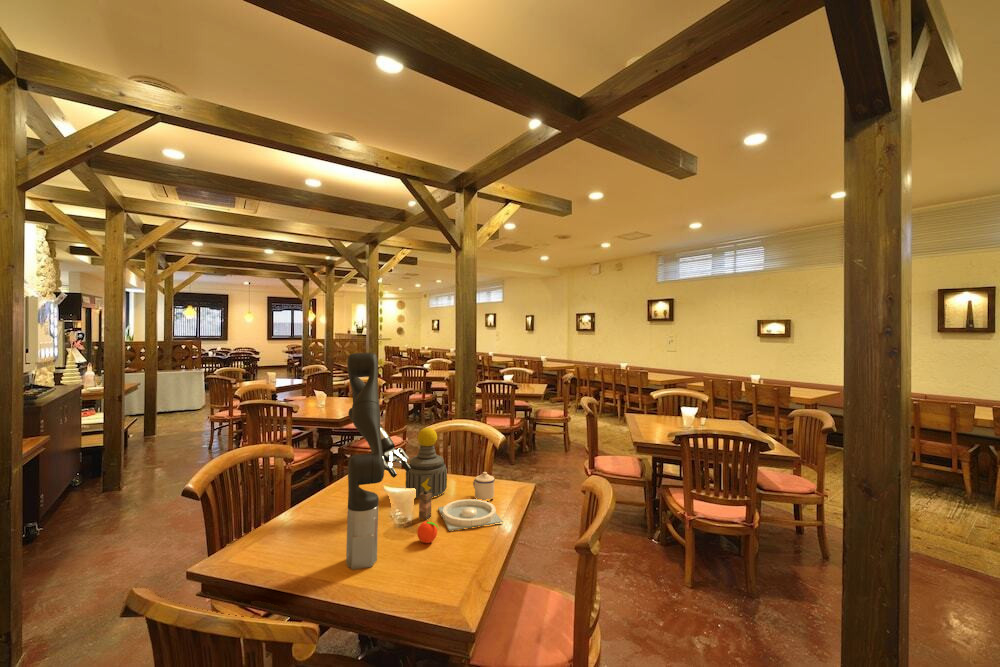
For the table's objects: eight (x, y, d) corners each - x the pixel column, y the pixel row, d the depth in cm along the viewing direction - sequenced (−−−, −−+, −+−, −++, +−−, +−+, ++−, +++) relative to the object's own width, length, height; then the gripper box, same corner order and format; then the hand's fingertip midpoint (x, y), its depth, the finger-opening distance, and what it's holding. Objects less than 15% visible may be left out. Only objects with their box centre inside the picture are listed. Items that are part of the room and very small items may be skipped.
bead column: (431, 517, 160) (431, 489, 160) (426, 520, 157) (426, 492, 157) (424, 515, 161) (424, 488, 161) (418, 518, 158) (419, 491, 158)
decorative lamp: (406, 486, 194) (407, 424, 195) (445, 484, 198) (446, 423, 199) (404, 501, 176) (406, 432, 177) (447, 499, 179) (448, 431, 180)
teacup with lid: (498, 498, 180) (499, 472, 181) (483, 504, 174) (484, 477, 174) (480, 491, 189) (481, 466, 189) (465, 496, 182) (466, 470, 183)
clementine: (443, 539, 142) (443, 518, 142) (434, 548, 135) (435, 527, 135) (422, 536, 144) (422, 516, 144) (413, 545, 137) (413, 524, 137)
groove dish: (502, 524, 154) (502, 516, 154) (449, 531, 147) (449, 523, 147) (486, 503, 174) (486, 496, 174) (438, 509, 167) (438, 502, 167)
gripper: (374, 439, 162) (396, 472, 157) (397, 432, 175) (418, 463, 170) (364, 451, 164) (385, 484, 159) (387, 443, 177) (408, 473, 172)
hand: (402, 473), depth 164 cm, fingers open, 8 cm apart
